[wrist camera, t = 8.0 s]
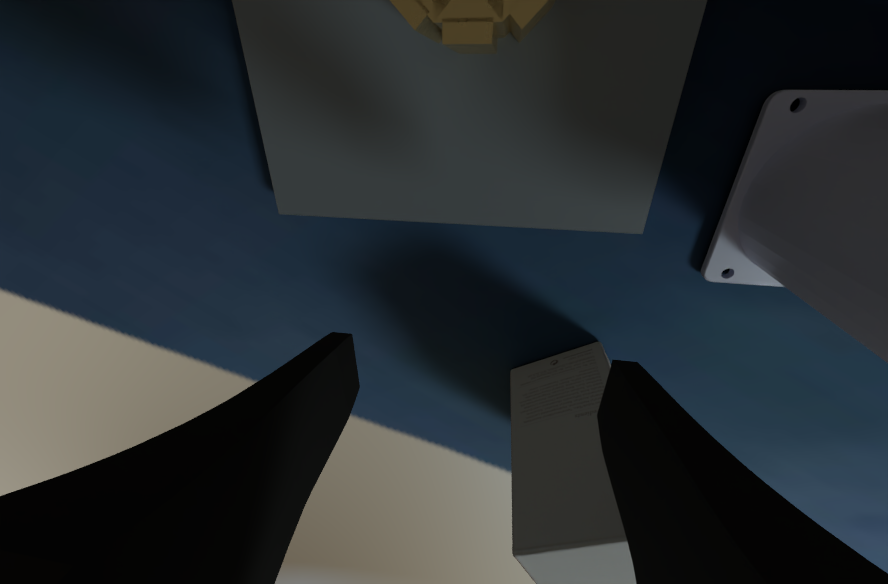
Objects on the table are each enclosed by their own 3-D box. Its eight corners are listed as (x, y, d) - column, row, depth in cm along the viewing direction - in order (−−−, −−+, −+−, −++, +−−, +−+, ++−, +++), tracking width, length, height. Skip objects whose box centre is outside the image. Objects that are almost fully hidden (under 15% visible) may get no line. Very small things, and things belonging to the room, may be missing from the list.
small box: (508, 366, 23) (507, 554, 14) (601, 337, 21) (671, 534, 12) (558, 450, 26) (583, 651, 17) (644, 432, 24) (726, 649, 15)
